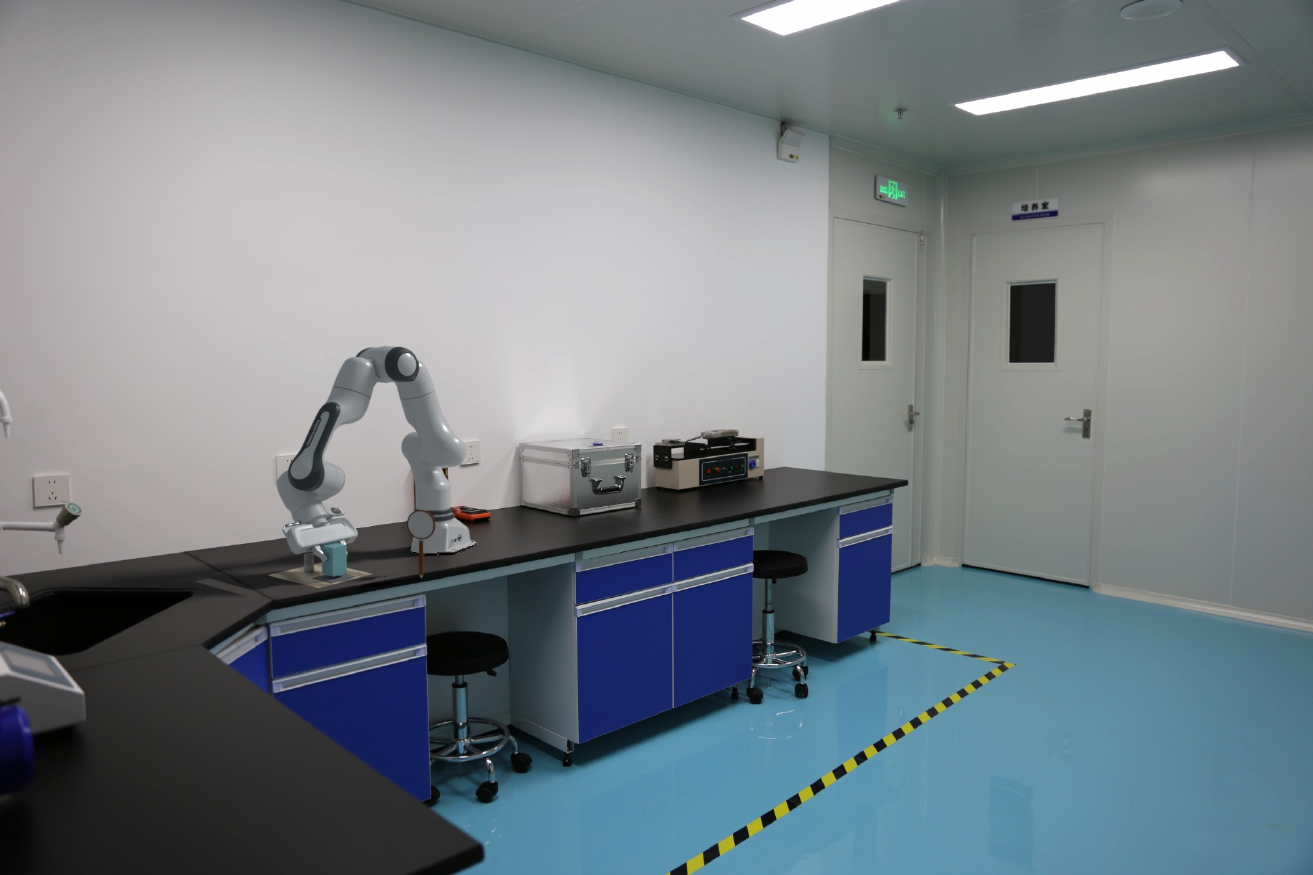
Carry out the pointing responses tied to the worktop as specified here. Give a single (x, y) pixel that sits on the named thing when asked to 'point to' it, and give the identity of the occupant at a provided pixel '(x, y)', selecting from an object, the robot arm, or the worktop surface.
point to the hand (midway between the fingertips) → (335, 558)
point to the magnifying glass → (421, 530)
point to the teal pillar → (335, 559)
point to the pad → (333, 578)
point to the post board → (312, 573)
